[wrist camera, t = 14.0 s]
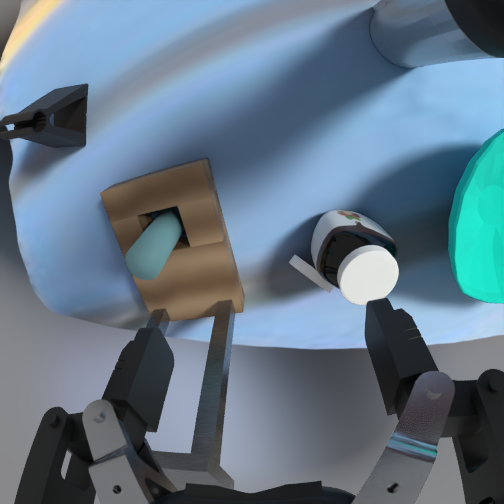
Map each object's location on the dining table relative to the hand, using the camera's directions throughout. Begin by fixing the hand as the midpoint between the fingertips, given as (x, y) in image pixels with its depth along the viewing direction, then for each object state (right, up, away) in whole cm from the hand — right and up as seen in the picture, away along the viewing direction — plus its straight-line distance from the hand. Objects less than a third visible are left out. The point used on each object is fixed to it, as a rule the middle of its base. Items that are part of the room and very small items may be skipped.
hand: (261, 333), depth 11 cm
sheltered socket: (-10, +4, +30) cm, 32 cm away
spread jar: (+11, +4, +30) cm, 32 cm away
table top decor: (+40, +11, +25) cm, 49 cm away
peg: (-11, +7, +28) cm, 31 cm away
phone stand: (-26, +22, +21) cm, 40 cm away
